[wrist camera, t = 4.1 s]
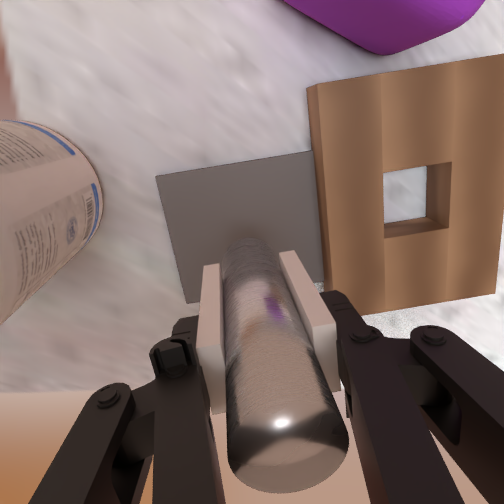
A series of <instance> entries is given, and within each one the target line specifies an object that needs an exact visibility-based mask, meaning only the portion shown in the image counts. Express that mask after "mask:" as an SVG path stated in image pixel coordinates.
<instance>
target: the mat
mask: <svg viewBox="0 0 504 504" xmlns="http://www.w3.org/2000/svg"><path fill="white" fill-rule="evenodd" d="M155 178H156V182H157V186H158V190H159V194H160V198H161V202H162V206H163V210H164V214H165V218H166V222H167V226H168V230H169V234H170V238H171V242H172V247H173V251H174V255H175V259H176V263H177V267H178V271H179V275H180V279H181V283H182V287H183V291H184V295H185V299H186V303H187V304H189V303H195V302H200V299H201V289H202V279H203V268H204V266H206V265H212V264H217V263H219V264H220V269H221V274H222V259H223V256H224V253H225V251H226V250H227V248H228V247H229V246H230V245H231V244H232V243H234V242H235V241H237V240H240V239H243V238H256V239H260V240H262V241H264V242H265V243H267V244H268V245H269V246H270V247H271V249H272V250H273V252H274V255H275V257H276V259H277V262H278V264H279V267H280V269H281V266H280V258H279V253H280V252H286V251H292V250H294V251H295V253H296V254H297V256H298V258H299V260H300V261H301V263H302V265H303V266H304V268H305V270H306V272H307V273H308V275H309V277H310V279H311V280H312V282H313V283H316V282H322V281H325V280H324V268H323V257H322V245H321V234H320V223H319V211H318V200H317V188H316V177H315V165H314V154H313V151H306V152H300V153H294V154H288V155H281V156H275V157H269V158H263V159H257V160H251V161H245V162H239V163H233V164H226V165H220V166H214V167H208V168H202V169H196V170H190V171H184V172H178V173H171V174H165V175H159V176H156V177H155ZM222 279H223V278H222Z"/></svg>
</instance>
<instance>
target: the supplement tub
mask: <svg viewBox="0 0 504 504" xmlns="http://www.w3.org/2000/svg"><path fill="white" fill-rule="evenodd" d="M102 208H103V201H102V192H101V187H100V184H99V181H98V178H97V176H96V174H95V172H94V170H93V168H92V166H91V165H90V163H89V162H88V160H87V159H86V158H85V156H84V155H83V154H82V153H81V152H80V151H79V150H78V149H77V148H76V147H75V146H74V145H73V144H71V143H70V142H69V141H68V140H66V139H65V138H64V137H62V136H61V135H59V134H58V133H56V132H54V131H52V130H50V129H48V128H46V127H43V126H41V125H38V124H34V123H30V122H26V121H18V120H0V325H1V324H2V323H3V322H4V321H5V320H6V319H7V318H9V317H10V316H11V315H12V314H13V313H14V312H15V311H16V310H17V309H18V308H19V307H20V306H21V305H22V304H23V303H24V302H25V301H27V300H28V299H29V298H30V297H31V296H32V295H33V294H34V293H35V292H36V291H37V290H38V289H39V288H40V287H41V286H43V285H44V284H45V283H46V282H47V281H48V280H49V279H50V278H51V277H52V276H53V275H54V274H55V273H56V272H57V271H58V270H59V269H61V268H62V267H63V266H64V265H65V264H66V263H67V262H68V261H69V260H70V259H71V258H72V257H73V256H74V255H75V254H76V253H78V252H79V251H80V250H81V249H82V248H83V247H84V246H85V245H86V244H87V243H88V242H89V240H90V239H91V238H92V236H93V235H94V233H95V232H96V230H97V228H98V226H99V223H100V220H101V216H102Z"/></svg>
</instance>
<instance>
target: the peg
mask: <svg viewBox="0 0 504 504" xmlns="http://www.w3.org/2000/svg"><path fill="white" fill-rule="evenodd" d="M222 278H223V304H224V338H225V386H226V420H227V421H226V422H227V455H228V462H229V465H230V468H231V469H232V471H233V473H234V474H235V476H236V477H237V478H238V479H239V480H240V481H241V482H243V483H244V484H246V485H247V486H249V487H251V488H254V489H256V490H259V491H263V492H269V493H291V492H297V491H301V490H304V489H307V488H310V487H313V486H315V485H317V484H319V483H321V482H322V481H324V480H325V479H327V478H328V477H329V476H331V475H332V474H333V473H334V472H335V471H336V470H337V469H338V468H339V466H340V465H341V464H342V462H343V460H344V459H345V457H346V454H347V451H348V447H349V436H348V432H347V429H346V426H345V424H344V421H343V419H342V416H341V414H340V412H339V409H338V407H337V404H336V402H335V400H334V397H333V395H332V392H331V390H330V387H329V385H328V383H327V380H326V378H325V375H324V373H323V371H322V368H321V366H320V363H319V361H318V358H317V356H316V354H315V351H314V349H313V347H312V344H311V342H310V339H309V337H308V334H307V332H306V330H305V327H304V325H303V322H302V320H301V317H300V315H299V313H298V310H297V308H296V305H295V303H294V301H293V298H292V296H291V293H290V291H289V288H288V286H287V284H286V281H285V279H284V276H283V274H282V272H281V269H280V267H279V264H278V262H277V259H276V257H275V255H274V252H273V250H272V249H271V247H270V246H269V245H268V244H267V243H265V242H264V241H262V240H260V239H256V238H243V239H240V240H237V241H235V242H234V243H232V244H231V245H230V246H229V247H228V248H227V250H226V251H225V253H224V256H223V259H222Z"/></svg>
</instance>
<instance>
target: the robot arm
mask: <svg viewBox="0 0 504 504" xmlns="http://www.w3.org/2000/svg"><path fill="white" fill-rule="evenodd" d="M279 258H280V266H281V272H282V274H283V276H284V279H285V281H286V284H287V286H288V288H289V291H290V293H291V296H292V298H293V301H294V303H295V305H296V308H297V310H298V313H299V315H300V317H301V320H302V322H303V325H304V327H305V330H306V332H307V334H308V337H309V339H310V342H311V344H312V347H313V349H314V351H315V354H316V356H317V358H318V361H319V363H320V366H321V368H322V371H323V373H324V375H325V378H326V380H327V383H328V385H329V387H330V390H331V392H337V391H341V384H340V379H341V381H342V384H343V386H344V388H345V401H346V415H347V418H350V421H351V425H352V429H353V433H354V437H355V441H356V445H357V449H358V453H359V458H360V462H361V466H362V470H363V474H364V478H365V482H366V486H367V490H368V494H369V498H370V502H371V504H465V503H464V501H463V499H462V497H461V495H460V493H459V491H458V489H457V487H456V485H455V483H454V481H453V478H452V476H451V474H450V473H449V470H448V468H447V466H446V464H445V462H444V460H443V458H442V456H441V454H440V452H439V450H438V447H437V445H436V443H435V441H434V439H433V437H432V435H431V433H430V431H431V432H432V433H433V435H434V436H435V437H436V439H437V440H438V441H439V442H440V443H441V445H442V446H443V447H444V448H445V450H446V451H447V452H448V453H449V455H450V456H451V457H452V458H453V460H454V461H455V462H456V463H457V465H458V466H459V467H460V468H461V470H462V471H463V472H464V473H465V475H466V476H467V477H468V478H469V480H470V481H471V482H472V483H473V484H474V486H475V487H476V488H477V489H478V491H479V492H480V493H481V494H482V496H483V497H484V498H485V499H486V501H487V502H488V503H489V504H504V371H502V370H501V369H500V368H498V367H497V366H496V365H494V364H493V363H492V362H491V361H489V360H488V359H487V358H485V357H484V356H483V355H482V354H480V353H479V352H478V351H476V350H475V349H474V348H473V347H471V346H470V345H469V344H467V343H466V342H465V341H463V340H462V339H461V338H460V337H458V336H457V335H456V334H454V333H453V332H451V331H450V330H448V329H446V328H443V327H439V326H434V325H425V326H419V327H417V328H414V329H413V330H412V331H411V333H410V339H400V338H388V337H384V336H383V334H382V333H381V332H380V330H378V329H377V328H375V327H373V326H369V325H367V324H366V323H365V322H364V320H363V319H362V317H361V316H360V315H359V313H358V312H357V310H356V309H355V308H354V306H353V305H352V303H350V301H349V299H348V298H347V297H346V295H345V294H343V293H341V292H339V291H337V290H332V291H327V292H321V293H318V291H317V289H316V287H315V286H314V284H313V282H312V280H311V279H310V277H309V275H308V273H307V272H306V270H305V268H304V266H303V265H302V263H301V261H300V260H299V258H298V256H297V254H296V253H295V251H294V250H292V251H286V252H280V253H279ZM149 357H150V360H151V363H152V366H153V369H154V373H155V376H156V378H155V380H153V381H152V382H150V383H148V384H146V385H144V386H142V387H140V388H137V389H135V390H132V391H131V389H130V387H129V385H127V384H124V383H114V384H110V385H107V386H105V387H103V388H101V389H99V390H98V391H96V392H95V393H94V394H93V395H92V396H91V397H90V398H89V399H88V401H87V402H86V404H85V406H84V407H83V409H82V411H81V413H80V414H79V416H78V418H77V420H76V421H75V423H74V425H73V427H72V428H71V430H70V432H69V434H68V435H67V437H66V439H65V440H64V442H63V444H62V446H61V447H60V449H59V451H58V453H57V454H56V456H55V458H54V460H53V461H52V463H51V465H50V467H49V468H48V470H47V472H46V474H45V475H44V477H43V479H42V481H41V482H40V484H39V486H38V488H37V489H36V491H35V493H34V495H33V496H32V498H31V500H30V502H29V503H28V504H139V503H140V500H141V496H142V493H143V489H144V485H145V482H146V479H147V475H148V472H149V469H150V464H151V462H152V456H153V454H154V459H153V460H154V461H153V499H152V501H153V502H152V504H226V502H225V496H224V490H223V485H222V479H221V473H220V467H219V461H218V455H217V450H216V444H215V437H214V432H213V426H212V422H211V418H210V407H211V411H212V414H213V415H214V414H219V413H225V412H226V386H225V338H224V304H223V279H222V274H221V269H220V264H219V263H217V264H212V265H206V266H204V268H203V279H202V289H201V299H200V310H199V315H198V316H192V317H186V318H181V319H179V320H178V322H177V323H176V324H175V325H174V326H173V331H172V336H171V337H170V338H167V339H164V340H162V341H160V342H159V343H157V344H155V345H154V347H153V348H152V349H151V350H150V353H149ZM429 430H430V431H429Z"/></svg>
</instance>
